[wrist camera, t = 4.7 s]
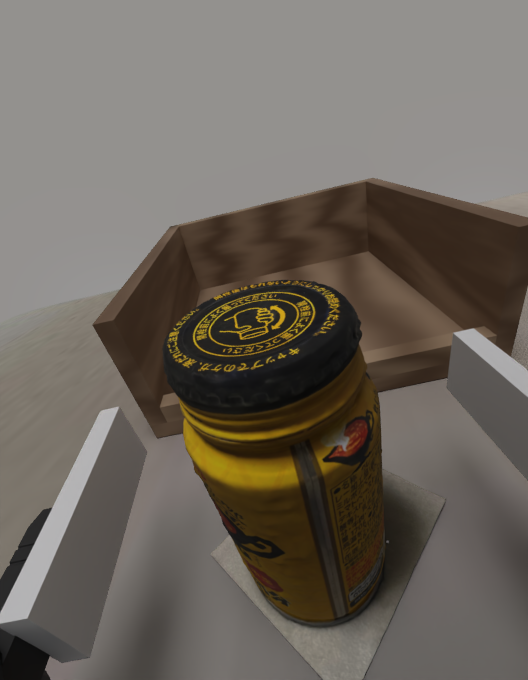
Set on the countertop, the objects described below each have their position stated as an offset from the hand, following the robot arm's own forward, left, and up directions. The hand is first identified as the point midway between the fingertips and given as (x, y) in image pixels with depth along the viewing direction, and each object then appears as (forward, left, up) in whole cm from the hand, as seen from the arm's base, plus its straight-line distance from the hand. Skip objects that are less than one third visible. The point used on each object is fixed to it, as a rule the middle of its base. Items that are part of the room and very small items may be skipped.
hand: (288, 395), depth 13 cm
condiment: (0, +2, -7) cm, 7 cm away
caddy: (-2, -18, -7) cm, 20 cm away
